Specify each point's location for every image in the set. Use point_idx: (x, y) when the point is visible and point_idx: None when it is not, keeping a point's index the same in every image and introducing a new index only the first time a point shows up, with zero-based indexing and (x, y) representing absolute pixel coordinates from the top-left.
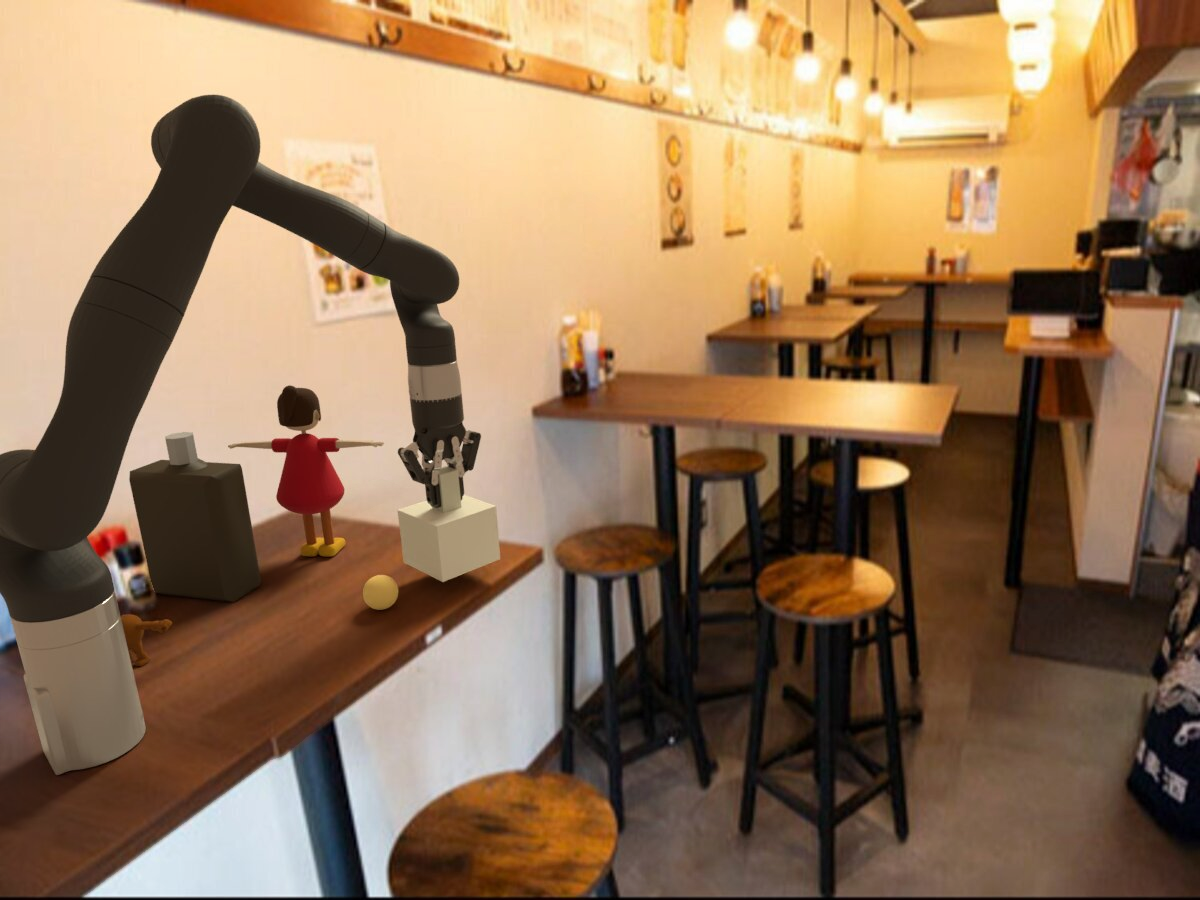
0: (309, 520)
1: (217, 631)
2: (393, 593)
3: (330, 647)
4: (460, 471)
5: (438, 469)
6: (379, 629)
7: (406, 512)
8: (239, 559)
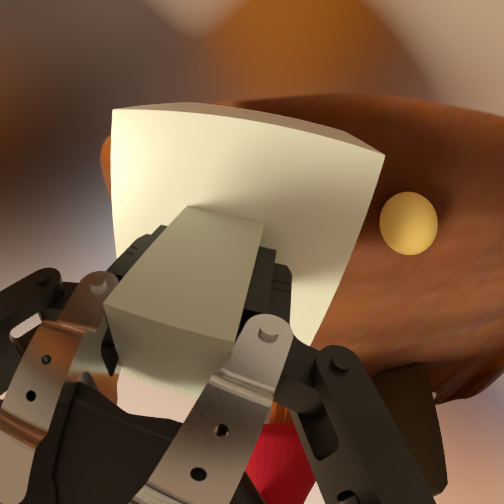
0: (291, 419)
1: (471, 328)
2: (413, 194)
3: (494, 198)
4: (94, 293)
5: (231, 379)
6: (450, 168)
7: (315, 324)
8: (415, 400)
